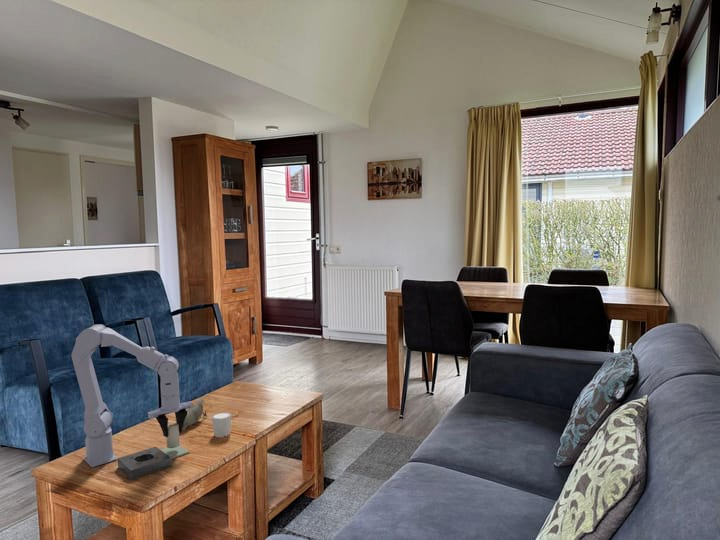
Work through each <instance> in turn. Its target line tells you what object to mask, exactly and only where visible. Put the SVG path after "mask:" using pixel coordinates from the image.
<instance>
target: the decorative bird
mask: <svg viewBox="0 0 720 540" xmlns="http://www.w3.org/2000/svg"><path fill="white" fill-rule="evenodd" d="M204 402H205V400H204V399H203V398H202V399H199V400H198V401H197V402H196V403H195V404H193V408H191V409H190V408H188V409H186V411H187V416H186V418H185V420H184V423H183V427H182V432H181V433H183V432H184V431H185V429H186V428H187V427H190V426H193V425H195V424H196V423H197V422H199V420H200V418H201V417H202V418H206V417H207V418H208V416H207V410H205V412H203V411H204V406H203V404H204Z"/></svg>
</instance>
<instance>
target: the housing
mask: <svg viewBox="0 0 720 540" xmlns="http://www.w3.org/2000/svg"><path fill="white" fill-rule="evenodd" d="M160 449H161V448H159V447H157V446H153V447H150V448H147V449H144V450H143V449H142V450H140V451H137V452H134V453H131V454H127V455H124V456H120V457H117V458H118V459H117V468H118V470H120V471H121V472H122V473H123V474H124V475H126V477H128V478H129V479H130V480H131V481H133V480H136V479H139V478H142V477H146V476H149V475H151V474H154V473H157V472H160V471H163V470H166V469H169V468H172V459H171V457H170V456H168V455H167V454H165V453H164V452H163V451H161V450H160Z"/></svg>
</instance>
